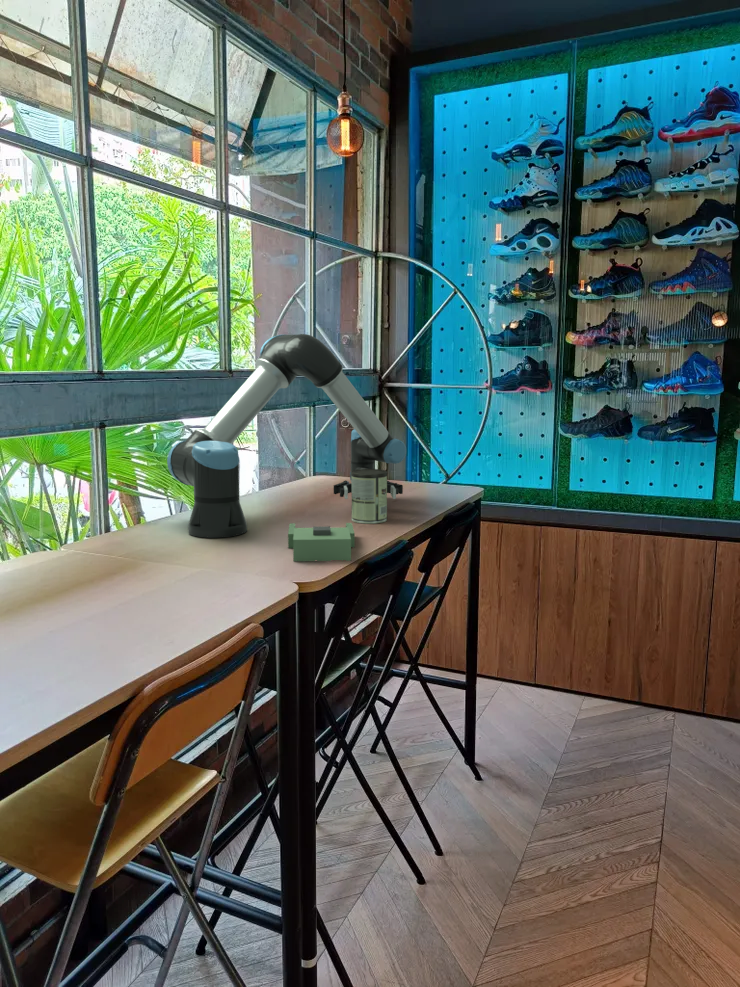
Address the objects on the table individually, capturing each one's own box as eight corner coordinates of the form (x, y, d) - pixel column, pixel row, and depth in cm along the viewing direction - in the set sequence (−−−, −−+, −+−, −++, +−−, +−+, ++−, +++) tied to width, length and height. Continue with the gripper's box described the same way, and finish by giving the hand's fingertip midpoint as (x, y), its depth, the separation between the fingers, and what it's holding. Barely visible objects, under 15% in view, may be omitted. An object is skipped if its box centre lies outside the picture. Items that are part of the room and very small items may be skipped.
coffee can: (353, 516, 216) (353, 468, 214) (388, 517, 215) (388, 469, 213) (348, 523, 206) (348, 473, 204) (385, 524, 205) (386, 474, 203)
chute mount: (286, 561, 166) (286, 534, 165) (289, 536, 190) (289, 513, 189) (357, 560, 168) (357, 533, 167) (351, 536, 191) (351, 512, 190)
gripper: (404, 493, 230) (414, 506, 210) (324, 494, 228) (326, 507, 207) (404, 470, 229) (414, 480, 208) (324, 470, 227) (326, 481, 206)
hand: (370, 494), depth 208 cm, fingers open, 13 cm apart
